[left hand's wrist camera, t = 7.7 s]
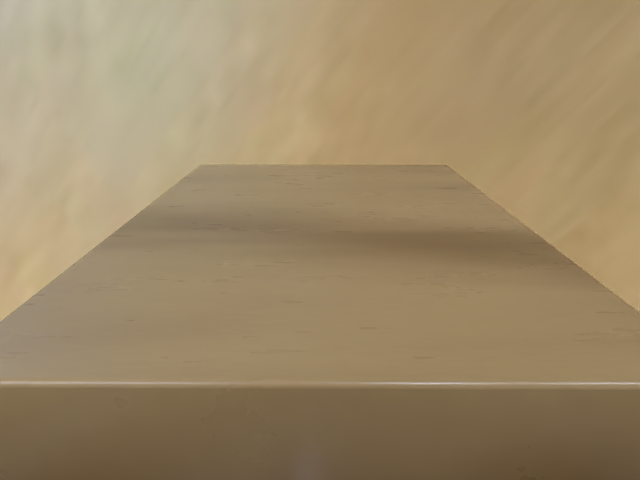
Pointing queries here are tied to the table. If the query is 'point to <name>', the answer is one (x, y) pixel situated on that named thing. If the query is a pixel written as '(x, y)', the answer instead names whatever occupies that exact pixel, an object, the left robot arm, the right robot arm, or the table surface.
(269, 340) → the box
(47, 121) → the table surface
